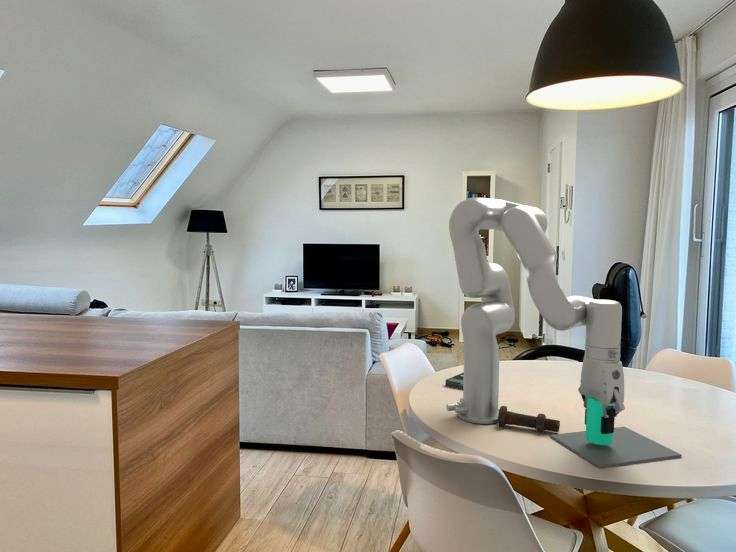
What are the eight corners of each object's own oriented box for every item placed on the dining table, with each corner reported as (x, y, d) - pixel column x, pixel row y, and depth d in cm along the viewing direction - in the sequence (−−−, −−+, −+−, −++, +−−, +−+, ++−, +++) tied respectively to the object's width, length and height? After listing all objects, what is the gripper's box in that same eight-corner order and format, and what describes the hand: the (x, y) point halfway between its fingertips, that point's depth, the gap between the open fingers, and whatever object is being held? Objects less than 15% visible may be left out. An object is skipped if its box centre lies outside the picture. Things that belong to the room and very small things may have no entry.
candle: (589, 433, 131) (591, 385, 130) (615, 439, 127) (618, 389, 126) (581, 440, 126) (583, 390, 125) (608, 447, 122) (610, 396, 121)
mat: (599, 468, 116) (599, 465, 116) (550, 437, 133) (550, 434, 133) (681, 457, 122) (681, 454, 122) (624, 428, 139) (624, 426, 139)
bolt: (558, 442, 135) (498, 431, 141) (560, 426, 139) (501, 416, 145) (558, 426, 132) (497, 416, 138) (560, 411, 136) (500, 401, 142)
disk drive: (466, 378, 188) (444, 387, 177) (466, 370, 188) (444, 379, 176) (493, 383, 182) (473, 393, 170) (493, 375, 182) (473, 385, 170)
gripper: (643, 360, 118) (639, 441, 119) (591, 344, 134) (588, 415, 135) (614, 362, 116) (610, 444, 117) (565, 346, 132) (563, 417, 133)
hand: (598, 427), depth 126 cm, fingers closed on candle, 4 cm apart
